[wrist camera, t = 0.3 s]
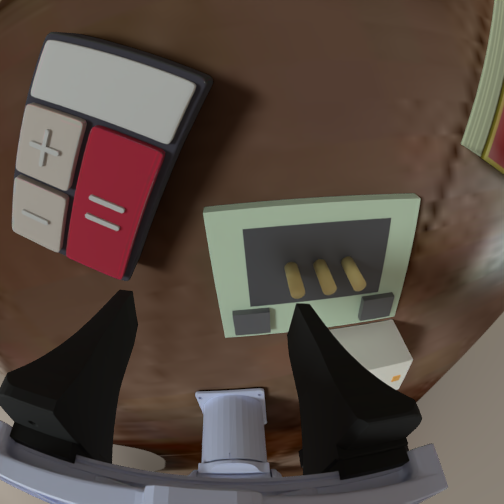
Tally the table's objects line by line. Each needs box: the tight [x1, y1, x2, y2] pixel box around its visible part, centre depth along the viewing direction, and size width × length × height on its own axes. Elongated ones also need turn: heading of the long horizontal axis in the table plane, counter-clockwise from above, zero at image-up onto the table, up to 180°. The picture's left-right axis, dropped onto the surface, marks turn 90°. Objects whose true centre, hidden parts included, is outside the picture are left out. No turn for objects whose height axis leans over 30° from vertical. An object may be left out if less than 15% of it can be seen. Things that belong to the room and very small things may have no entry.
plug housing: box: [330, 320, 413, 390], centre depth 27 cm, size 5×9×6 cm, turn 94°
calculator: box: [12, 32, 213, 281], centre depth 17 cm, size 11×4×15 cm
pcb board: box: [203, 193, 421, 338], centre depth 22 cm, size 12×16×4 cm
